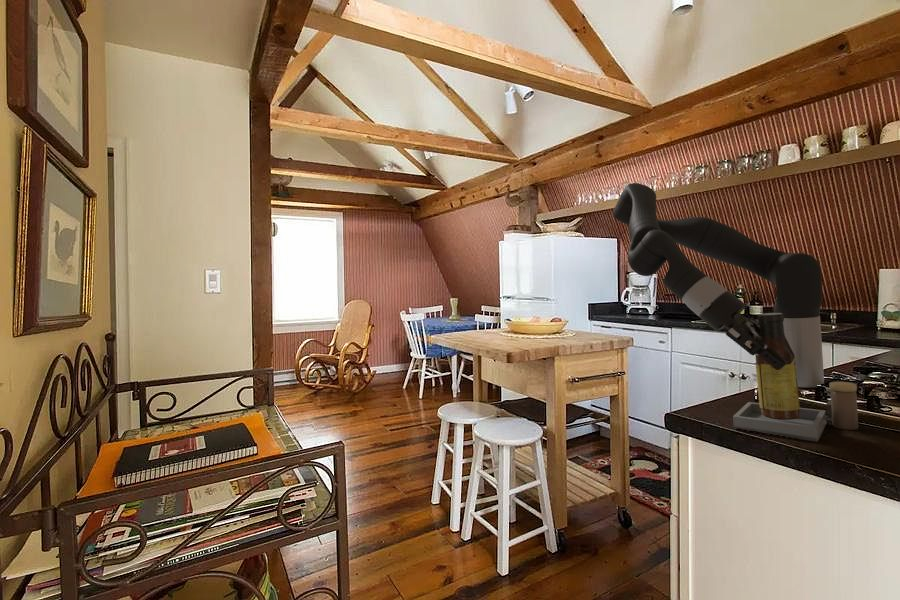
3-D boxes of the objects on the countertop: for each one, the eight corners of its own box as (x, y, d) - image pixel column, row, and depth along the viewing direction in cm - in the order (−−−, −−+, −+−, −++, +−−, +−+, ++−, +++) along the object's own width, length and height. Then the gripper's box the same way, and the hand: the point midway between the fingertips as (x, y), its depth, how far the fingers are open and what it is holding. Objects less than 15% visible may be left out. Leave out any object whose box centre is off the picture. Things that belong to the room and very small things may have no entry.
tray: (748, 413, 94) (748, 401, 93) (826, 423, 84) (825, 410, 84) (733, 429, 86) (732, 416, 85) (817, 441, 76) (816, 427, 76)
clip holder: (766, 406, 97) (766, 392, 97) (845, 415, 88) (844, 400, 88) (761, 412, 94) (760, 398, 94) (843, 422, 84) (842, 406, 84)
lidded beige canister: (833, 422, 85) (830, 380, 85) (860, 425, 82) (857, 382, 82) (830, 427, 82) (828, 385, 82) (858, 431, 80) (855, 387, 79)
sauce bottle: (809, 419, 82) (802, 313, 81) (775, 422, 82) (769, 316, 81) (781, 409, 88) (775, 311, 88) (751, 412, 88) (744, 313, 87)
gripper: (709, 312, 99) (778, 369, 90) (687, 319, 89) (761, 384, 80) (735, 287, 95) (809, 344, 86) (715, 292, 85) (796, 357, 76)
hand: (786, 363), depth 83 cm, fingers closed on sauce bottle, 6 cm apart
